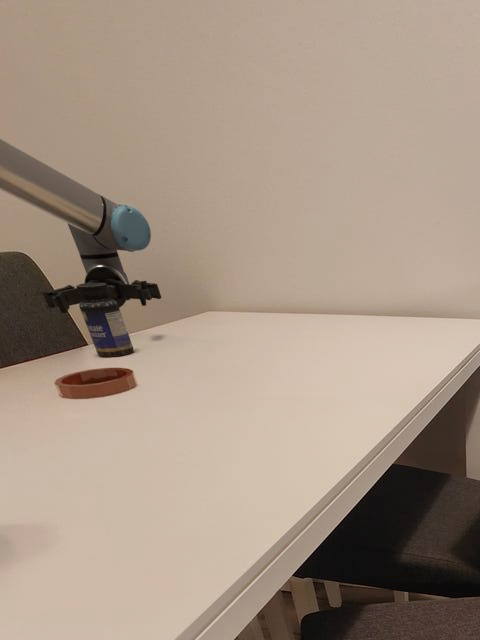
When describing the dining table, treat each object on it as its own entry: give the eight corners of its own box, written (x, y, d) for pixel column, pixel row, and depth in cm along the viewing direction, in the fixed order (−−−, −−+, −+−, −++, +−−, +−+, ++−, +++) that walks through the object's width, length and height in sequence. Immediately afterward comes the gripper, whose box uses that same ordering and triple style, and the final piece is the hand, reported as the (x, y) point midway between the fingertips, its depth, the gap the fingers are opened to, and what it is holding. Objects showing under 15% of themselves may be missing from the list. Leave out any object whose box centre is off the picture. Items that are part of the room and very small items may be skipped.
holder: (51, 414, 80) (39, 387, 78) (89, 393, 88) (79, 368, 86) (122, 412, 80) (111, 385, 78) (154, 391, 88) (145, 366, 85)
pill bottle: (90, 356, 107) (62, 286, 100) (118, 348, 112) (93, 281, 105) (115, 358, 105) (88, 287, 98) (142, 350, 110) (118, 282, 103)
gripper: (175, 301, 131) (180, 316, 116) (48, 312, 123) (35, 330, 108) (163, 261, 126) (166, 272, 111) (30, 271, 118) (14, 283, 103)
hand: (101, 301), depth 109 cm, fingers open, 13 cm apart
